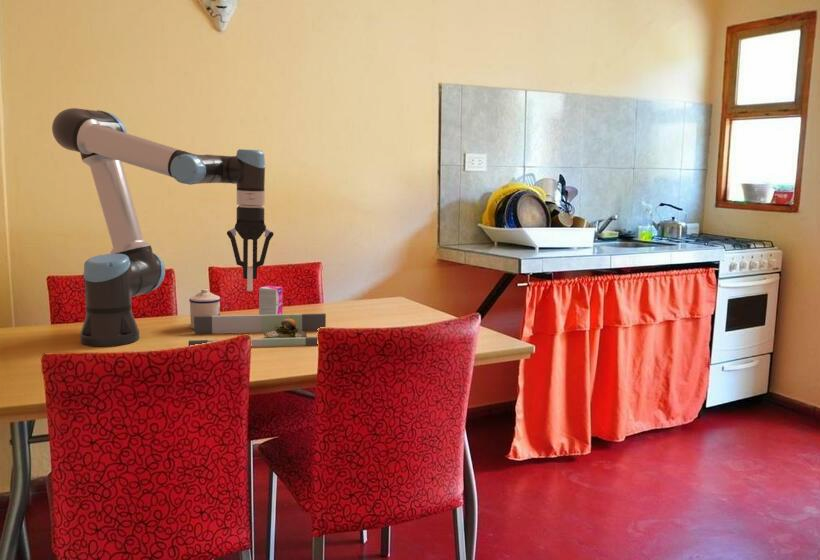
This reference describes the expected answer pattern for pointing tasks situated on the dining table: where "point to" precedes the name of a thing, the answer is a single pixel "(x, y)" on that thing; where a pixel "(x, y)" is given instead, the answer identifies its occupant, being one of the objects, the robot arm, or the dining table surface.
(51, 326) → the dining table surface
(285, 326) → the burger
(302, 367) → the dining table surface
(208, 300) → the teacup with lid
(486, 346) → the dining table surface
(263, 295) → the supplement box
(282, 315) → the trap lane
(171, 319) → the dining table surface
